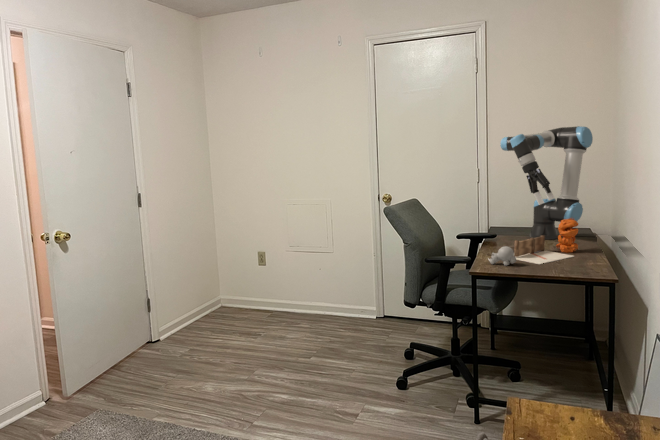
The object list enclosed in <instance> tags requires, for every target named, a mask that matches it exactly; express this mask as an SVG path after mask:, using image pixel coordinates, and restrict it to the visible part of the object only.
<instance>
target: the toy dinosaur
mask: <svg viewBox="0 0 660 440" xmlns="http://www.w3.org/2000/svg"><path fill="white" fill-rule="evenodd" d="M572 218H573V217H572ZM572 218H570V219H565V220H564V219H563V220H561V222H559V224H558V227H557V230H558V233H559V235H558V237H557V239H558V240H557V242H558V243H557V244H555V248H556V249H559V250H560V252H561V253H564V254H569V253H574V252H576V250H578V249H579V244H578V243H576V239H577V238H576V236H577V235H578V234H579V233H578V232H579V228H577V227H578V226H579V223H578V221H575V220H574V219H575V218H574V219H572Z"/></svg>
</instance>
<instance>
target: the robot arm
mask: <svg viewBox="0 0 660 440" xmlns="http://www.w3.org/2000/svg"><path fill="white" fill-rule="evenodd" d="M592 144H593V133H592V131H591V129H590V128H589V127H587V126H582V125H580V126H578V125H577V126H568V127H566V126H564V127H558V128H557V127H556V128H553V129H549V130H547V129H546V130H544V131H543V132H540V133H539V132H538V133H531V134H523V133H520V134H517V135H515V136H505V137H502V139H500V148H501V150H502V151H505V152H511V151H512V152H514V155H515V156H516V157H517V162H518V163H519V164H520V166H521V168H522V171H523V173H524V174H527V175H526V179H527V182H528V186H529V190H530V191H529V192H530V194H533V195H534V198H535V200H534V203H533V218H532V219H533V221H532V222H533V223H532V227H531V229H530V232H529V238H536V237H541V235H544V236H545V241H546V240H547V241H548V240H557V239H558V232H557V229H556V224H555V223H556V222H557V223H558V222H559V223H560V222H561V220H563V219H564V220H565V219H570V218H572V217H573V218H572V219H574V218H575V219H574V220H575V221H577V222H578V221H579V220H581V217H582V215H583V212H584V208H583V204H582V203H581V202H580V199H579V197H578V194H579V193H578V192H579V183H580V177H581V169H582V163H583V155H584V154H585V153H587V149H588V148H590V147H591V145H592ZM543 147H545V148H561V149H563V151H564V152H565V159H564V165H563V171H562V172H563V173H562V180H561V186H560V187H561V188H560V194H559V195H558V196H557V197H556V198H555V196H554V194H553V191H552V190H551V187H550V184H551V183H550V180H549V179H548V178H547V177H546V176H545V175H544V173H543V172H542V170H541V168H540V166H539V164H538V161H536V157H535V155H534V153H533V152H534V151H537V150H539V149H541V148H543ZM538 183H539V184H540V186H542V189H543V192H544V193H545V196H546V197H547V198H543V197H542V194H541V193H540V190H539V189H538V188H539V187H538Z"/></svg>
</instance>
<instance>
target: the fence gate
mask: <svg viewBox="0 0 660 440" xmlns="http://www.w3.org/2000/svg"><path fill="white" fill-rule="evenodd" d="M513 245H514V249H513V251H514V256H515V257H519V256H521V255H525V254H529V253H531V251H532V239H530V238H528V239H527V238H526V239H522V240H517V239H516V240H514V244H513Z"/></svg>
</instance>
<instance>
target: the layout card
mask: <svg viewBox="0 0 660 440" xmlns="http://www.w3.org/2000/svg"><path fill="white" fill-rule="evenodd" d="M574 257H575V255H572V254H568V253H562V252H561V253H560V252H557V251H556V252H555V251H549V250H544V251H537V252H534V254H530V253H529V254H525V255H521V256H519V257H515V258H516V261H522V262H527V263H530V264H536V265H543V263H544V264H548V263H552V262H556V261H557V262H558V261H561V260H565V259H570V258H574Z"/></svg>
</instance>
